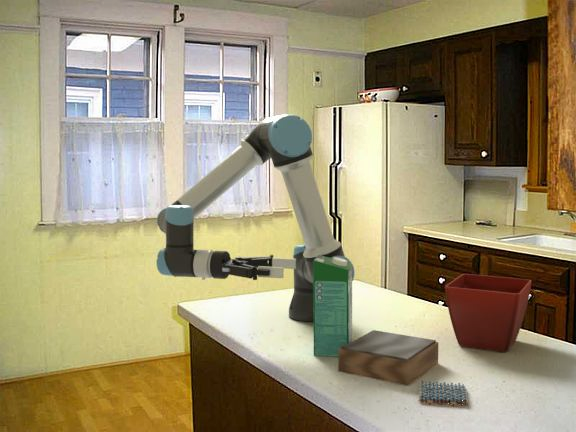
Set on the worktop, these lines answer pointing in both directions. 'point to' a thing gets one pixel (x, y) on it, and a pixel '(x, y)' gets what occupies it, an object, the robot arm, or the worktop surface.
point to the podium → (388, 357)
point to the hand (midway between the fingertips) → (289, 268)
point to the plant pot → (487, 310)
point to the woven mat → (443, 394)
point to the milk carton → (331, 304)
